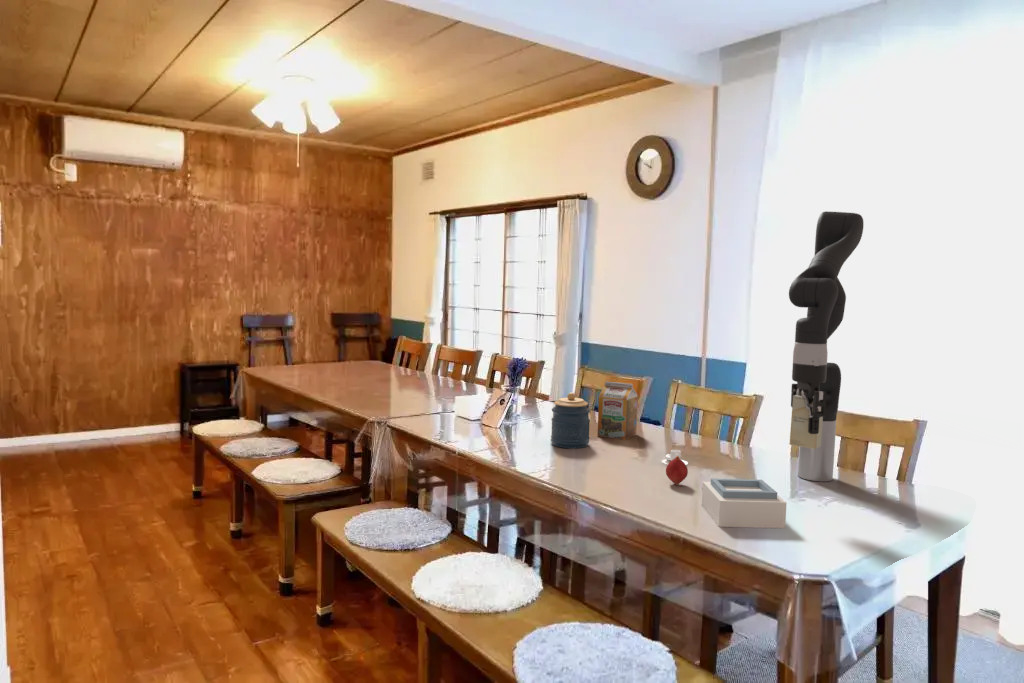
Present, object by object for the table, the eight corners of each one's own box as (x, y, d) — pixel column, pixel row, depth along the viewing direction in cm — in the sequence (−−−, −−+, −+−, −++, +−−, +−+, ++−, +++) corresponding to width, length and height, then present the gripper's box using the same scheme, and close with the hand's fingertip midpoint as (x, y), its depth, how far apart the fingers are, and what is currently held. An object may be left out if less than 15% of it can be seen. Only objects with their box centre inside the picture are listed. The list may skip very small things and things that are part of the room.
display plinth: (701, 505, 173) (703, 475, 172) (762, 506, 172) (763, 477, 172) (718, 526, 158) (720, 494, 157) (785, 528, 157) (786, 495, 157)
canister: (594, 448, 229) (596, 395, 228) (557, 449, 226) (558, 396, 225) (581, 439, 242) (583, 389, 240) (546, 440, 239) (547, 390, 237)
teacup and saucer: (664, 458, 219) (665, 446, 219) (690, 461, 216) (691, 448, 216) (659, 465, 211) (659, 452, 211) (685, 468, 208) (686, 455, 208)
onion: (661, 482, 192) (662, 454, 191) (678, 480, 194) (679, 452, 193) (673, 488, 186) (675, 459, 186) (691, 486, 188) (692, 457, 188)
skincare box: (789, 445, 168) (791, 395, 167) (795, 442, 171) (798, 393, 170) (816, 449, 163) (818, 398, 162) (822, 446, 167) (824, 396, 166)
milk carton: (636, 434, 252) (638, 382, 250) (625, 439, 243) (627, 385, 241) (609, 430, 257) (610, 379, 255) (597, 435, 248) (599, 383, 246)
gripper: (782, 358, 173) (778, 424, 174) (807, 364, 158) (803, 436, 160) (812, 359, 173) (808, 424, 174) (839, 365, 158) (835, 436, 160)
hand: (806, 430), depth 167 cm, fingers closed on skincare box, 7 cm apart
